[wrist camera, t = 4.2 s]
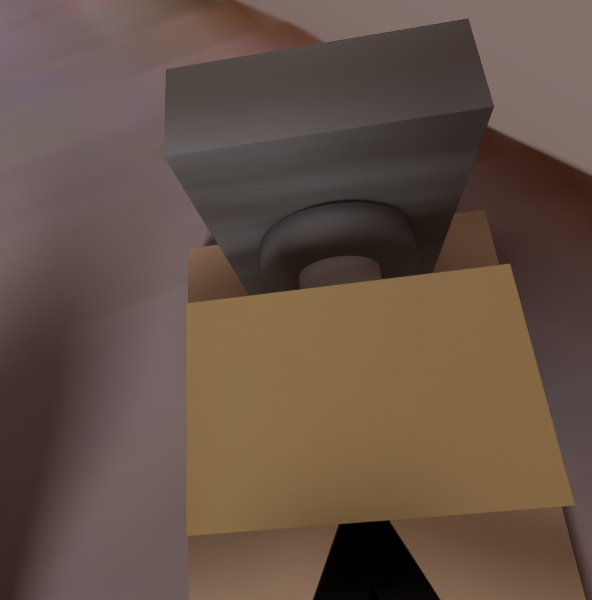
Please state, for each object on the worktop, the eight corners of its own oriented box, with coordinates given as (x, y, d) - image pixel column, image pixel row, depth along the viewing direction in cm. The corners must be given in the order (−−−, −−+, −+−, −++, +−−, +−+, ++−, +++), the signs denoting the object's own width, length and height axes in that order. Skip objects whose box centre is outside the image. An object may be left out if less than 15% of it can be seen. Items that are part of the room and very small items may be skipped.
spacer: (459, 489, 15) (575, 506, 7) (274, 504, 16) (186, 536, 8) (436, 365, 16) (510, 263, 8) (267, 383, 17) (186, 303, 9)
